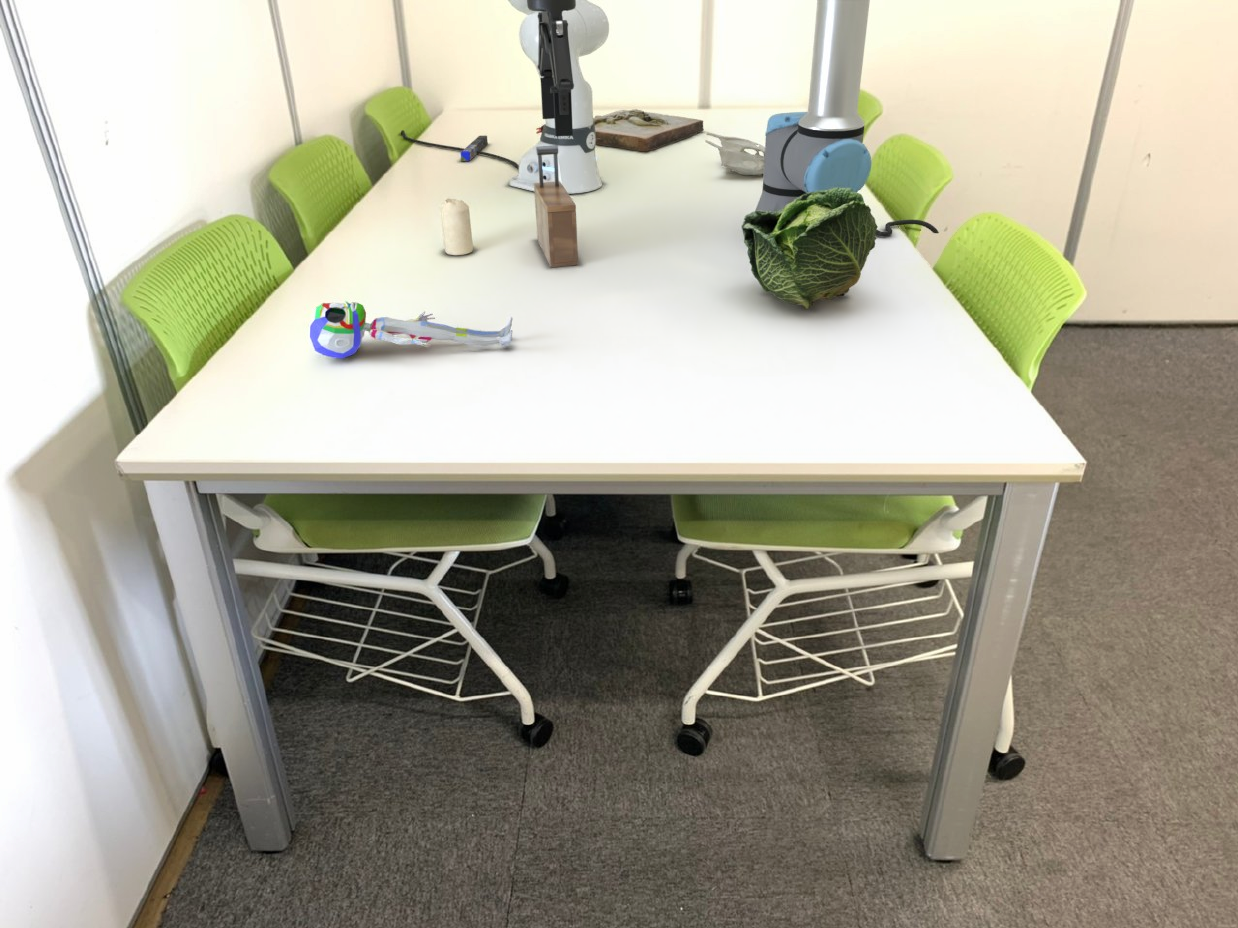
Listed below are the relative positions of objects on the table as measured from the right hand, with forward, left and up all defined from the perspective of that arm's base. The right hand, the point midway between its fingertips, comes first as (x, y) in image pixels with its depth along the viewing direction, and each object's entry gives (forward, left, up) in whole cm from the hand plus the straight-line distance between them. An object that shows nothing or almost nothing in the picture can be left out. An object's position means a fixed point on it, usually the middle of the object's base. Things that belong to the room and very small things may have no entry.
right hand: (557, 127), depth 148 cm
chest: (-1, -15, -27) cm, 30 cm away
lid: (-1, -15, -16) cm, 22 cm away
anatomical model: (-59, -60, -27) cm, 88 cm away
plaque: (-40, -109, -27) cm, 119 cm away
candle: (+17, -21, -27) cm, 38 cm away
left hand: (-33, -39, +20) cm, 55 cm away
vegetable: (-38, +20, -27) cm, 51 cm away
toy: (+27, +24, -27) cm, 45 cm away
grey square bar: (+7, -102, -27) cm, 105 cm away
